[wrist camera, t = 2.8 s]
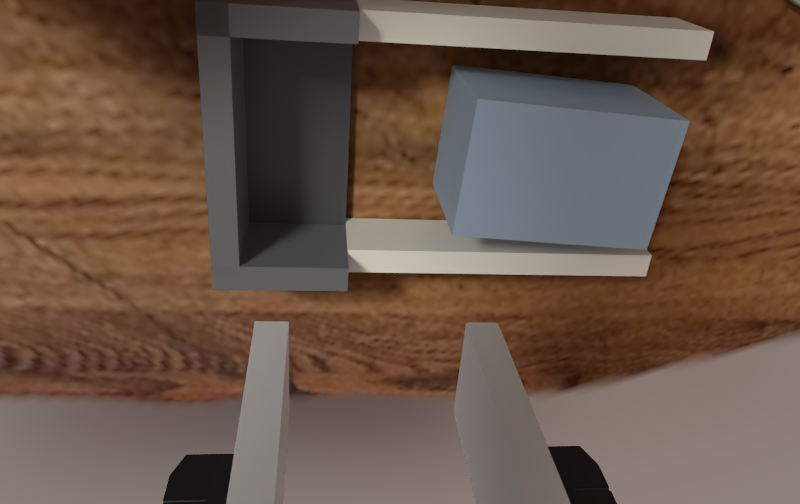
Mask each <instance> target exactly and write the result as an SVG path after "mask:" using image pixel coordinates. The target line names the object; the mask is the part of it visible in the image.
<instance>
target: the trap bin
mask: <svg viewBox="0 0 800 504" xmlns="http://www.w3.org/2000/svg"><path fill="white" fill-rule="evenodd" d="M194 4H195V19H196V35H197V51H198V66H199V82H200V97H201V113H202V128H203V144H204V160H205V175H206V191H207V206H208V222H209V237H210V253H211V269H212V284H213V290H275V291H348V272H349V266H348V251H347V236H346V205H347V180H348V155H349V131H350V106H351V81H352V56H353V44H359V21H360V10H359V7H358V3H357V0H195V1H194Z"/></svg>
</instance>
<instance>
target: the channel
mask: <svg viewBox="0 0 800 504" xmlns="http://www.w3.org/2000/svg"><path fill="white" fill-rule="evenodd" d="M357 3H358V7H359V10H360V21H359V41H370V42H387V43H405V44H423V45H440V46H458V47H476V48H494V49H511V50H529V51H547V52H565V53H582V54H600V55H618V56H636V57H653V58H671V59H689V60H707V56H708V53H709V49H710V46H711V42H712V39H713V35H714V31H712V30H709V29H706V28H703V27H700V26H698V25H695V24H692V23H689V22H687V21H684V20H681V19H678V18H672V17H657V16H641V15H626V14H610V13H594V12H579V11H563V10H548V9H532V8H517V7H501V6H486V5H470V4H454V3H439V2H423V1H408V0H357ZM346 236H347V251H348V266H349V272H370V273H440V274H509V275H579V276H646V274H647V271H648V267H649V264H650V260H651V256H652V255H651V254H650V253H649V252H648V251H647V250H640V249H626V248H613V247H599V246H585V245H571V244H558V243H544V242H530V241H517V240H503V239H489V238H476V237H462V236H452V234H451V231H450V228H449V226H448V223H447V221H446V220H410V219H369V218H346Z"/></svg>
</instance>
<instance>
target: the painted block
mask: <svg viewBox="0 0 800 504" xmlns="http://www.w3.org/2000/svg"><path fill="white" fill-rule="evenodd" d="M689 123H690V121H689V120H687V119H686V118H684V117H683V116H681V115H680V114H678V113H676V112H675V111H673V110H672V109H670V108H668V107H667V106H665V105H664V104H662V103H661V102H659V101H657V100H656V99H654V98H653V97H651V96H649V95H648V94H646V93H645V92H643V91H641V90H640V89H638V88H637V87H635V86H634V85H629V84H620V83H611V82H603V81H594V80H585V79H576V78H567V77H558V76H549V75H540V74H531V73H523V72H514V71H505V70H496V69H487V68H478V67H469V66H460V65H452V69H451V75H450V81H449V87H448V93H447V99H446V105H445V111H444V117H443V124H442V130H441V136H440V142H439V148H438V154H437V160H436V166H435V172H434V178H433V186H434V189H435V191H436V194H437V197H438V199H439V202H440V205H441V207H442V210H443V213H444V215H445V218H446V221H447V223H448V226H449V228H450V231H451V234H452V236H462V237H476V238H489V239H503V240H517V241H530V242H544V243H558V244H571V245H585V246H599V247H613V248H626V249H640V250H647V248H648V245H649V242H650V239H651V236H652V233H653V230H654V227H655V224H656V221H657V218H658V215H659V212H660V209H661V206H662V203H663V200H664V197H665V194H666V191H667V188H668V185H669V183H670V180H671V177H672V174H673V171H674V168H675V165H676V162H677V159H678V156H679V153H680V150H681V147H682V144H683V141H684V138H685V135H686V132H687V129H688V126H689Z"/></svg>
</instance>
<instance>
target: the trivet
mask: <svg viewBox="0 0 800 504" xmlns="http://www.w3.org/2000/svg"><path fill="white" fill-rule="evenodd" d="M789 1H790V2H791V3H793V4H794V5H796V6H798V7H800V0H789Z"/></svg>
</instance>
